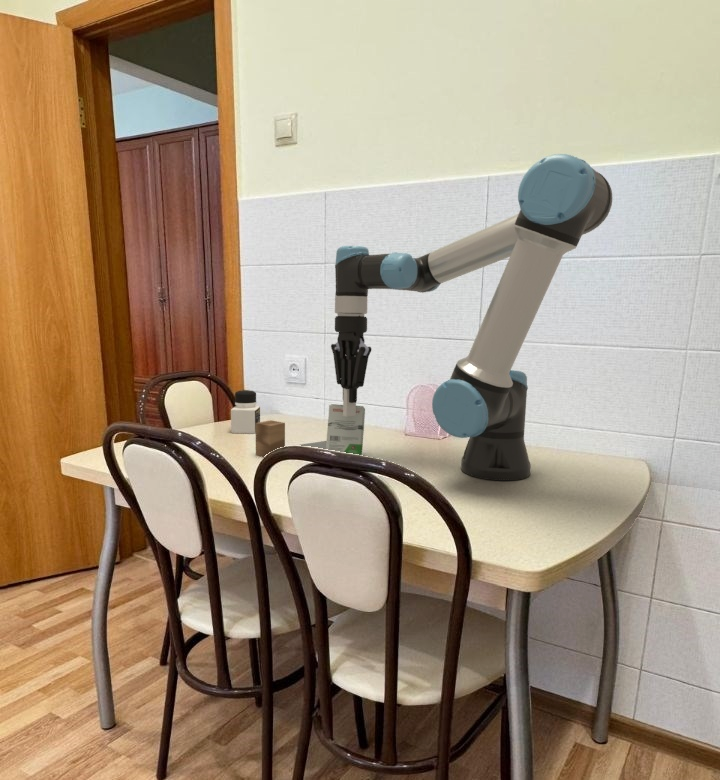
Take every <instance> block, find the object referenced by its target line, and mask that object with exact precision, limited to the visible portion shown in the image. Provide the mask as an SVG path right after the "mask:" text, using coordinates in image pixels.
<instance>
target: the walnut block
mask: <svg viewBox="0 0 720 780" xmlns="http://www.w3.org/2000/svg"><path fill="white" fill-rule="evenodd" d="M284 446H285V447H286V422H282V421H277V420H273V419H272V420H270V419H269V420H263V421H260V422H259V423H256V433H255V456H258V457H261V456H262V457H261V458H265V457H264V456H265V455H266V454H268V453H269V452H271V451H273V450H275V449H277V448H280V447H284Z"/></svg>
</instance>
